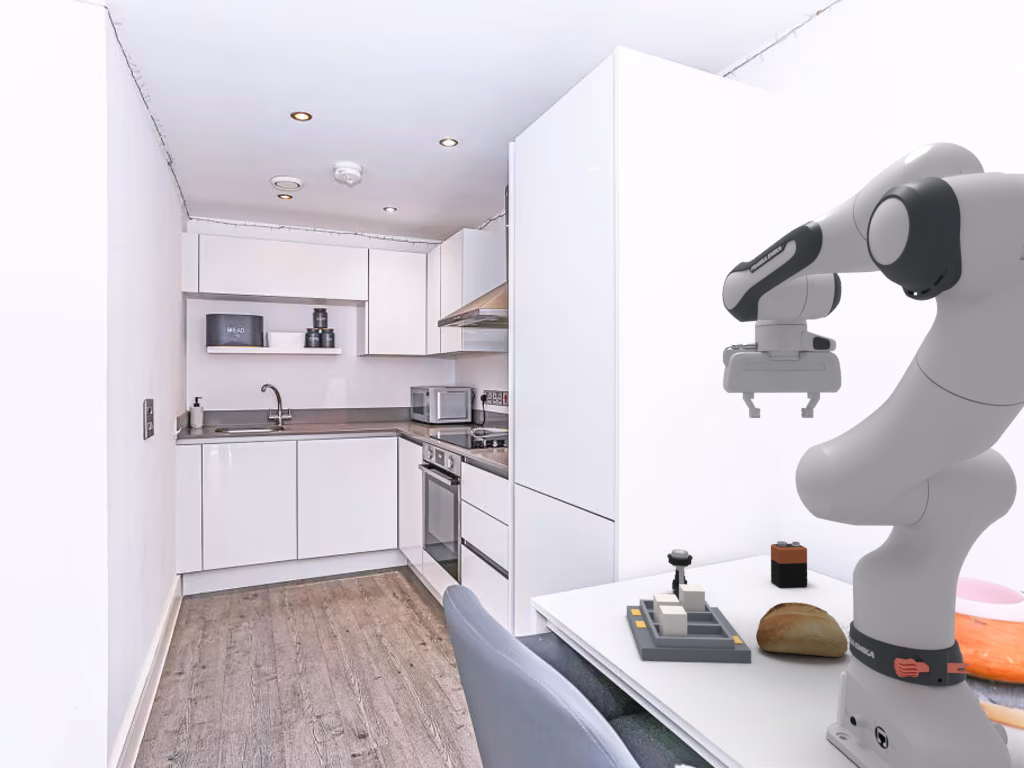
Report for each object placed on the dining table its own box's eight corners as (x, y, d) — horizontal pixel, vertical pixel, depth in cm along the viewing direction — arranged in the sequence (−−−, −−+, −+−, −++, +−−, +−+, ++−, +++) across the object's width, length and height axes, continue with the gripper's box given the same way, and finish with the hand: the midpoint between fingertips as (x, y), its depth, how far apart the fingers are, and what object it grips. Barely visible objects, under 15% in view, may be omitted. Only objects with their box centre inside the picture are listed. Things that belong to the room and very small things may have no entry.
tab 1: (679, 629, 109) (679, 602, 109) (657, 629, 110) (657, 601, 110) (675, 621, 113) (675, 594, 113) (653, 620, 114) (653, 594, 114)
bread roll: (747, 639, 110) (747, 595, 110) (831, 641, 109) (831, 597, 109) (765, 663, 101) (765, 615, 101) (858, 665, 100) (858, 617, 100)
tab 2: (687, 643, 103) (687, 614, 103) (663, 643, 104) (663, 613, 104) (682, 634, 107) (682, 605, 107) (659, 633, 108) (659, 605, 108)
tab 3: (704, 617, 115) (704, 591, 115) (683, 617, 115) (683, 591, 115) (699, 610, 119) (699, 584, 119) (679, 609, 119) (679, 584, 119)
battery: (770, 582, 142) (769, 540, 142) (797, 581, 143) (797, 539, 143) (780, 588, 138) (779, 544, 138) (808, 587, 138) (808, 544, 138)
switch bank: (751, 662, 101) (750, 641, 101) (641, 660, 102) (641, 639, 102) (717, 617, 121) (717, 599, 121) (626, 615, 122) (626, 598, 122)
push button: (663, 591, 136) (663, 546, 136) (687, 591, 136) (687, 546, 136) (670, 601, 130) (670, 554, 130) (695, 601, 129) (695, 555, 130)
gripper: (727, 342, 109) (728, 418, 109) (845, 341, 107) (845, 418, 107) (718, 344, 115) (718, 416, 115) (829, 343, 114) (829, 416, 114)
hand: (780, 417), depth 111 cm, fingers open, 8 cm apart
